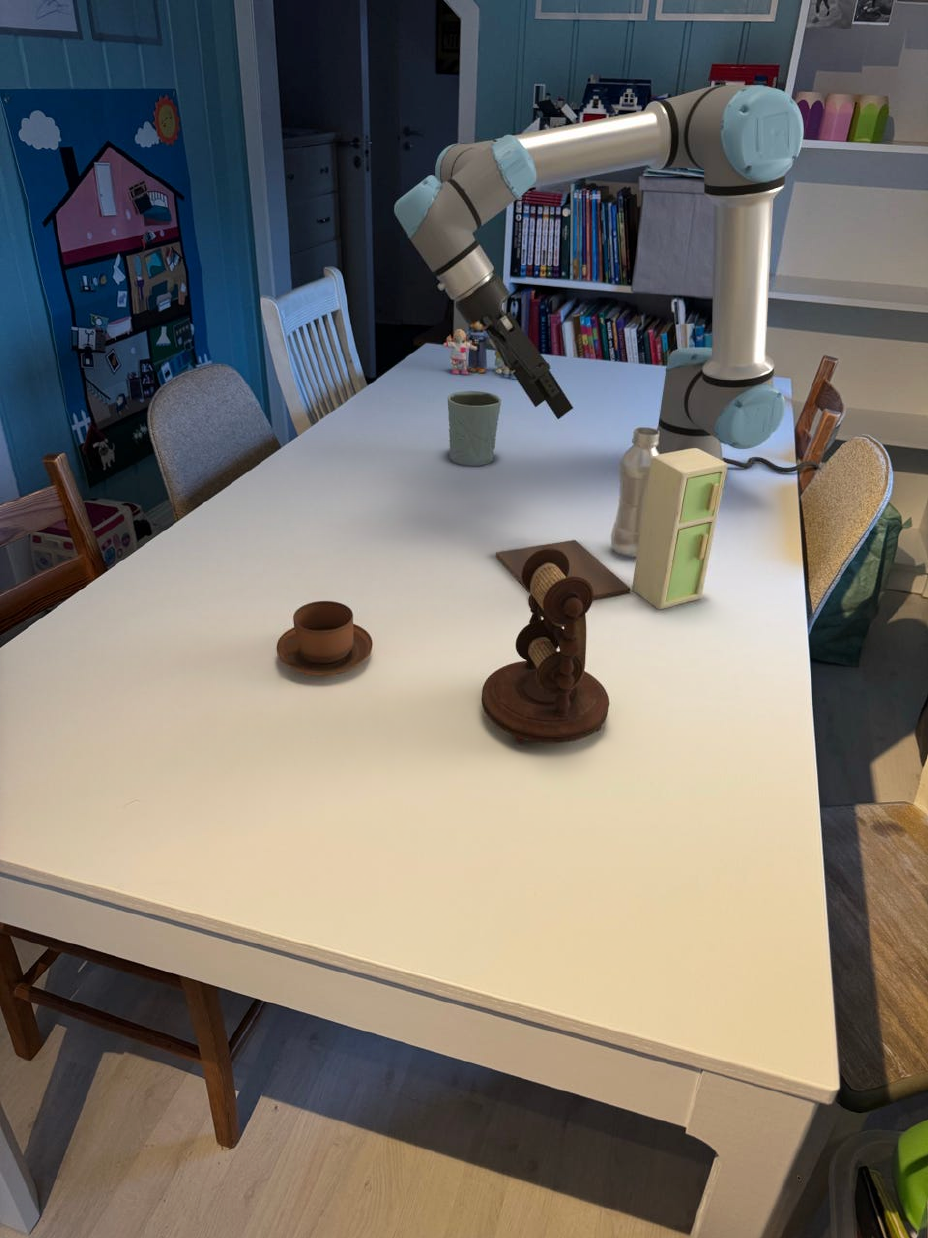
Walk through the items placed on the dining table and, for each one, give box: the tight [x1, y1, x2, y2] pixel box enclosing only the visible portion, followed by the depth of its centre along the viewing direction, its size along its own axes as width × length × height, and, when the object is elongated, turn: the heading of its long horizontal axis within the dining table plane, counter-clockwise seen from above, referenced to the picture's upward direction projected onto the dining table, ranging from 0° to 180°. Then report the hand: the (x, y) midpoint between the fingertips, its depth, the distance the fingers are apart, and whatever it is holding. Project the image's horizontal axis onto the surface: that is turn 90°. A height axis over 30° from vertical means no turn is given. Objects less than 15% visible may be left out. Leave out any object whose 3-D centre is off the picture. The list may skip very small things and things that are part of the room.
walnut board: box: [495, 539, 631, 601], centre depth 133 cm, size 14×17×1 cm
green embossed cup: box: [447, 390, 502, 467], centre depth 171 cm, size 10×10×12 cm
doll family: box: [443, 321, 517, 380], centre depth 223 cm, size 21×10×13 cm, turn 81°
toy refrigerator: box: [631, 448, 728, 610], centre depth 123 cm, size 8×7×21 cm
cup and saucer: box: [275, 600, 374, 676], centre depth 111 cm, size 12×12×6 cm
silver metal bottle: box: [610, 426, 660, 558], centre depth 135 cm, size 6×7×20 cm
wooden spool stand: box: [481, 548, 610, 746], centre depth 99 cm, size 15×15×20 cm
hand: (553, 407), depth 135 cm, fingers open, 13 cm apart
